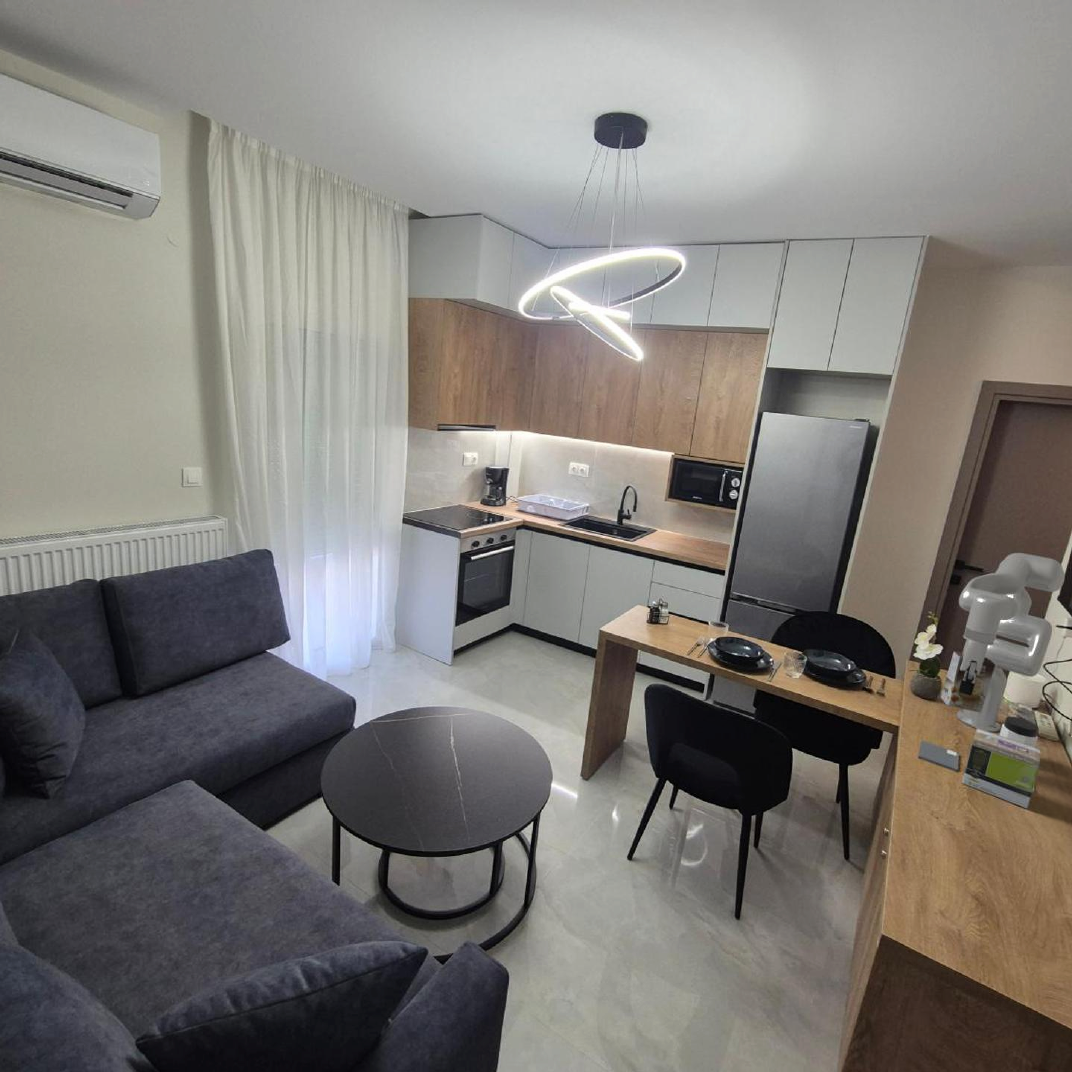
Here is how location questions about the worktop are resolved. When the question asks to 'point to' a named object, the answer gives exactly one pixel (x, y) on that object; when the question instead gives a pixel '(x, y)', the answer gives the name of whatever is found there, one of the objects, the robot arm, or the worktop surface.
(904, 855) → the worktop surface
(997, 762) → the tea box
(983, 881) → the worktop surface
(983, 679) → the coffee box
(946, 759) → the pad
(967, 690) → the robot arm
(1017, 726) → the jar
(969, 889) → the worktop surface
